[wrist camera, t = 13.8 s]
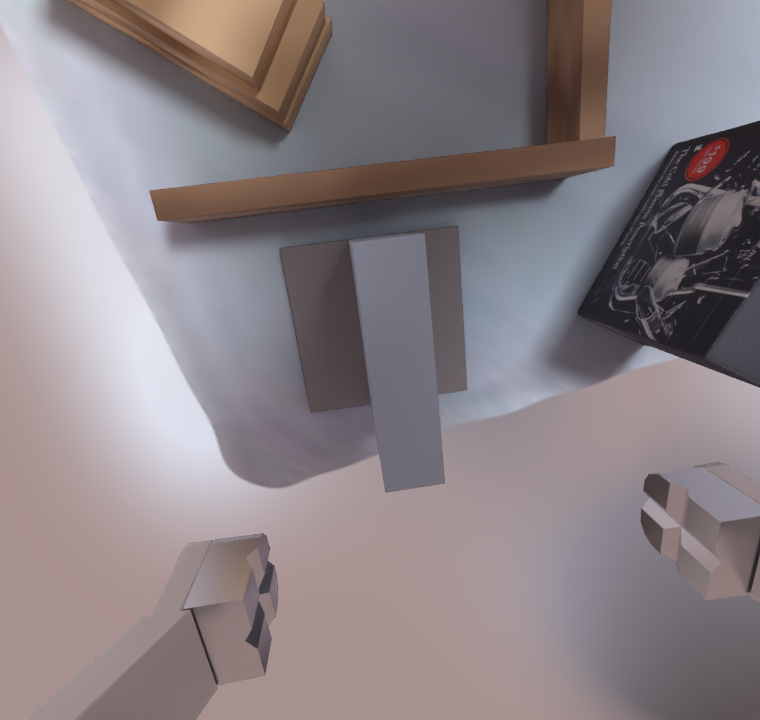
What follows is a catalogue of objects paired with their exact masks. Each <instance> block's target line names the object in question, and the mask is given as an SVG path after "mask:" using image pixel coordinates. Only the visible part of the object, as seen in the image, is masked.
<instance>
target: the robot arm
mask: <svg viewBox="0 0 760 720" xmlns="http://www.w3.org/2000/svg"><path fill="white" fill-rule="evenodd" d="M643 490H644V492H645V493H646V494H647V496H648V497H649V499H648V500H647V501H646V503H645V504H644V505H643V506H642V508H641V524H642V527H643V530H644V533H645V535H646V537H647V539H648V540H649V542H650V543H651V545H652V546H653V547H654V548H655V549H656V550H657V551H658V552H659V553H660V554H661V555H663V556H666V557H668V558H670V559H672V560H674V561H676V565H677V572H678V573H679V574H680V575H681V576H682V577H683V578H684V579H685V580H686V581H687V582H688V583H689V584H690V585H691V586H692V587H693V588H694V589H695V590H696V591H697V592H698V593H699V594H700V595H701V596H702V597H703V598H704V599H705V600H712V599H719V598H726V597H733V596H740V595H748V594H750V597H751V598H753V599H755V600H756V601H758V602H760V484H759V483H757V482H756V481H754V480H753V479H751V478H749V477H748V476H746V475H744V474H743V473H741V472H739V471H738V470H736V469H734V468H732V467H731V466H730V465H727V464H724V463H720V462H715V463H709V464H704V465H698V466H694V467H690V468H683V469H677V470H672V471H665V472H659V473H652V474H649V475H648V476H647V478H646V479H645V482H644V489H643ZM269 551H270V547H269V543H268V540H267V537H266V535H264V534H263V533H262V534H255V535H247V536H239V537H231V538H224V539H216V540H214V541H213V540H211V541H204V542H196V543H190V544H189V545H187V546H186V547H185V548H184V549H183V551H182V553H181V555H180V557H179V559H178V561H177V563H176V565H175V567H174V569H173V571H172V573H171V575H170V577H169V579H168V581H167V583H166V585H165V587H164V589H163V591H162V593H161V595H160V597H159V599H158V601H157V603H156V605H155V607H154V609H153V611H152V613H151V615H150V616H146V617H141V618H140V619H139V620H138V621H137V622H136V623H134V624H133V625H132V626H131V627H130V628H129V629H128V630H126V631H125V632H124V633H123V634H122V635H121V636H120V637H118V638H117V639H116V640H115V641H114V642H113V643H111V644H110V645H109V646H108V647H107V648H106V649H104V650H103V651H102V652H101V653H100V654H99V655H98V656H96V657H95V658H94V659H93V660H92V661H91V662H90V663H88V664H87V665H86V666H85V667H84V668H83V669H81V670H80V671H79V672H78V673H77V674H76V675H74V676H73V677H72V678H71V679H70V680H69V681H68V682H66V683H65V684H64V685H63V686H62V687H61V688H60V689H58V690H57V691H56V692H55V693H54V694H53V695H51V696H50V697H49V698H48V699H47V700H46V701H45V702H43V703H42V704H41V705H40V706H39V707H38V708H36V709H35V710H34V711H33V712H32V713H31V714H30V715H28V716H27V717H26V718H25V719H24V720H196V719H197V718H198V716H199V715H200V713H201V712H202V710H203V709H204V708H205V706H206V704H207V703H208V702H209V700H210V699H211V697H212V696H213V695H214V693H215V692H216V690H217V689H218V688H217V685H221V684H226V683H231V682H236V681H241V680H246V679H251V678H256V677H261V676H265V673H266V668H267V663H268V657H269V652H270V646H271V640H272V639H271V635H270V631H269V627H268V626H269V624H270V623H271V622H272V621H273V620H274V618H275V617H276V611H277V604H278V583H277V575H276V571H275V567H274V565H272V564H271V563H270V562H269V561H268V556H269Z"/></svg>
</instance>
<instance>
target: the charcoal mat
mask: <svg viewBox="0 0 760 720" xmlns="http://www.w3.org/2000/svg"><path fill="white" fill-rule="evenodd" d="M424 233H425V243H426V256H427V268H428V280H429V293H430V305H431V317H432V330H433V342H434V354H435V367H436V379H437V392H438V394H444V393H451V392H457V391H464V390H467V379H466V361H465V343H464V325H463V307H462V289H461V271H460V253H459V235H458V226H453V227H445V228H437V229H429V230H421V231H413V232H405V233H397V234H424ZM280 252H281V257H282V262H283V268H284V273H285V278H286V283H287V289H288V294H289V299H290V305H291V310H292V315H293V321H294V326H295V331H296V337H297V342H298V347H299V353H300V358H301V363H302V369H303V374H304V379H305V384H306V390H307V395H308V400H309V406H310V411H311V413H313V412H320V411H326V410H333V409H340V408H347V407H354V406H361V405H368V404H371V400H370V393H369V385H368V378H367V371H366V363H365V356H364V349H363V342H362V334H361V327H360V320H359V312H358V305H357V298H356V291H355V283H354V276H353V269H352V261H351V254H350V247H349V240H341V241H333V242H325V243H317V244H309V245H301V246H293V247H285V248H280Z"/></svg>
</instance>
